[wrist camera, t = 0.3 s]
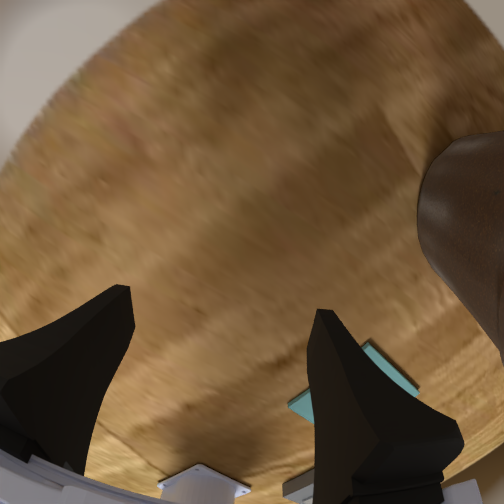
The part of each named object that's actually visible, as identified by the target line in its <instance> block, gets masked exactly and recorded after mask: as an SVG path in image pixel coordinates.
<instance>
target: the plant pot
mask: <svg viewBox="0 0 504 504" xmlns="http://www.w3.org/2000/svg"><path fill="white" fill-rule="evenodd" d="M417 226H418V238H419V241H420V244H421V248H422V251H423V253H424V255H425V257H426V258H427V260H428V262H429V263H430V265H431V267H432V268H433V270H434V271H435V272H436V273H437V274H438V276H440V277H441V278H442V280H443V281H444V282H445V283H446V284H447V285H448V287H449V288H450V289H451V290H452V291H453V292H454V294H455V295H456V296H457V297H458V298H459V300H460V301H461V302H462V303H463V304H464V306H465V307H466V308H467V309H468V310H469V312H470V313H471V314H472V315H473V317H474V318H475V319H476V321H477V322H478V323H479V325H480V326H481V327H482V328H483V330H484V331H485V332H486V334H487V335H488V336H489V338H490V339H491V340H492V342H493V343H494V344H495V346H496V347H497V348H498V350H499V351H500V356H501V360H502V363H503V366H504V131H499V132H492V133H485V134H477V135H470V136H465V137H462V138H459V139H457V140H455V141H453V142H452V143H451V145H450V146H449V147H448V148H446V149H445V150H444V151H443V152H442V153H441V154H440V155H439V156H438V157H437V158H435V160H434V161H433V163H432V164H431V166H430V168H429V170H428V172H427V174H426V176H425V179H424V181H423V185H422V188H421V192H420V197H419V203H418V213H417Z"/></svg>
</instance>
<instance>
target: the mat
mask: <svg viewBox="0 0 504 504" xmlns="http://www.w3.org/2000/svg"><path fill="white" fill-rule="evenodd" d="M362 349H363V350H364V352H365V353H366V354H367V355H368V356H369V357H370V358H371V359H372V360H373V362H374V363H375V364H376V365H377V366H378V367H379V368H380V369H381V370H382V371H383V372H384V373H386V374H387V375H388V376H389V377H390V378H391V379H392V380H393V381H394V382H396V383H397V384H398V385H399V386H400V387H402V388H403V389H404V390H406V391H407V392H408V393H410V394H411V395H412V396H414V397H416V396H417V395H418V394H419V393H420V392H419V391H418V389H417V388H416V387H415V386H414V385H412V384H411V383H410V382H409V381H408V380H407V379H406V378H405V377H404V376H403V375H402V374H401V373H400V372H399V371H398V370H397V369H396V368H395V367H394V366H393V365H392V364H391V363H390V362H388V361H387V360H386V359H385V358H384V357H383V356H382V355H381V354H380V353H379V352H378V351H377V350H376V349H375V348H374V347H373V346H372V345H371V344H370V343H369V342H368V343H366V344H365V345H364V346H363V347H362ZM288 408H290V409H291V410H293V411H294V412H296V413H297V414H299V415H300V416H302V417H303V418H305V419H307V420H308V421H310V422H311V423H313V424H314V416H313V409H312V402H311V395H310V389H308V390H306V391H305V392H303V393H302V394H301V395H299V396H298V397H296V398H295V399H294V400H292V401H291V402H289V403H288Z"/></svg>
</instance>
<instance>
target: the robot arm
mask: <svg viewBox="0 0 504 504" xmlns="http://www.w3.org/2000/svg"><path fill="white" fill-rule="evenodd" d="M134 330H135V321H134V314H133V307H132V300H131V292H130V286H125V285H118V284H116V285H114V286H112V287H110V288H108V289H107V290H105V291H104V292H102V293H100V294H99V295H97V296H96V297H94V298H93V299H91V300H90V301H88V302H86V303H85V304H83V305H82V306H80V307H79V308H77V309H75V310H73V311H72V312H70V313H68V314H67V315H65V316H63V317H61V318H60V319H58V320H56V321H54V322H52V323H50V324H48V325H46V326H44V327H42V328H39V329H37V330H35V331H32V332H30V333H27V334H24V335H22V336H19V337H16V338H13V339H10V340H6V341H3V342H0V504H234V503H235V498H236V497H239V496H241V495H244V494H246V493H249V492H250V491H251V488H250V487H248V486H245V485H243V484H241V483H239V482H237V481H234V480H232V479H230V478H228V477H226V476H224V475H222V474H220V473H218V472H216V471H214V470H212V469H210V468H208V467H206V466H204V465H202V464H197V465H195V466H193V467H191V468H189V469H187V470H185V471H183V472H181V473H179V474H177V475H175V476H173V477H171V478H168V479H166V480H164V481H162V482H160V483H158V484H157V486H158V487H159V488H161V489H162V490H163V491H162V494H161V498H160V499H158V498H154V497H150V496H146V495H142V494H138V493H134V492H131V491H127V490H124V489H120V488H117V487H114V486H110V485H107V484H104V483H101V482H98V481H95V480H93V479H90V478H87V477H84V472H85V466H86V460H87V454H88V450H89V445H90V441H91V437H92V433H93V429H94V426H95V422H96V419H97V416H98V413H99V410H100V407H101V404H102V401H103V398H104V395H105V393H106V391H107V389H108V387H109V385H110V383H111V381H112V379H113V377H114V375H115V373H116V371H117V369H118V367H119V365H120V363H121V361H122V359H123V357H124V355H125V353H126V351H127V349H128V347H129V344H130V341H131V338H132V335H133V333H134ZM307 374H308V381H309V389H310V395H311V402H312V409H313V416H314V427H315V467H314V488H313V501H312V504H483V503H482V499H481V496H480V492H479V489H478V485H477V482H476V480H475V479H471V480H468V481H465V482H462V483H458V484H454V485H451V486H449V487H447V488H444V489H443V490H442V488H441V484H440V483H441V482H442V481H444V476H443V472H442V471H443V470H444V469H445V468H446V467H447V466H448V465H449V464H450V463H451V462H452V461H453V460H455V459H456V458H457V456H458V455H459V454H460V453H461V451H462V449H463V447H464V440H463V437H462V435H461V432H460V429H459V427H458V424H457V422H456V420H454V419H452V418H450V417H448V416H446V415H444V414H442V413H440V412H438V411H436V410H434V409H432V408H431V407H429V406H428V405H426V404H424V403H423V402H421V401H420V400H418V399H417V398H415V397H414V396H412V395H411V394H410V393H408V392H407V391H406V390H404V389H403V388H402V387H400V386H399V385H398V384H397V383H396V382H394V381H393V380H392V379H391V378H390V377H389V376H388V375H387V374H386V373H384V372H383V371H382V370H381V369H380V368H379V367H378V366H377V365H376V364H375V363H374V362H373V360H372V359H371V358H370V357H369V356H368V355H367V354H366V353H365V352H364V350H363V349H362V348H361V347H360V346H359V344H358V343H357V342H356V341H355V339H354V338H353V337H352V335H351V334H350V333H349V331H348V330H347V329H346V327H345V326H344V325H343V323H342V322H341V320H340V319H339V318H338V316H337V315H336V314H335V312H334V311H333V310H326V309H317V311H316V315H315V319H314V323H313V327H312V331H311V335H310V338H309V342H308V346H307Z"/></svg>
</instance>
